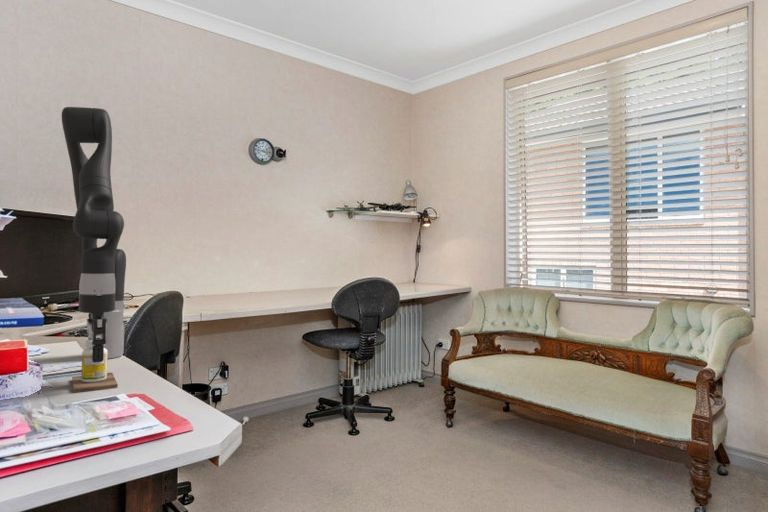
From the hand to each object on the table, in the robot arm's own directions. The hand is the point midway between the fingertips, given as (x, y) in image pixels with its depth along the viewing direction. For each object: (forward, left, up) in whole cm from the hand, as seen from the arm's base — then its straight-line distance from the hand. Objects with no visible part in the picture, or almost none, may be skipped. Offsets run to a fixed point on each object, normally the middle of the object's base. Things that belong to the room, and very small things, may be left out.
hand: (96, 358), depth 113 cm
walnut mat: (0, 0, -6) cm, 6 cm away
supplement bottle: (0, 0, -6) cm, 6 cm away
